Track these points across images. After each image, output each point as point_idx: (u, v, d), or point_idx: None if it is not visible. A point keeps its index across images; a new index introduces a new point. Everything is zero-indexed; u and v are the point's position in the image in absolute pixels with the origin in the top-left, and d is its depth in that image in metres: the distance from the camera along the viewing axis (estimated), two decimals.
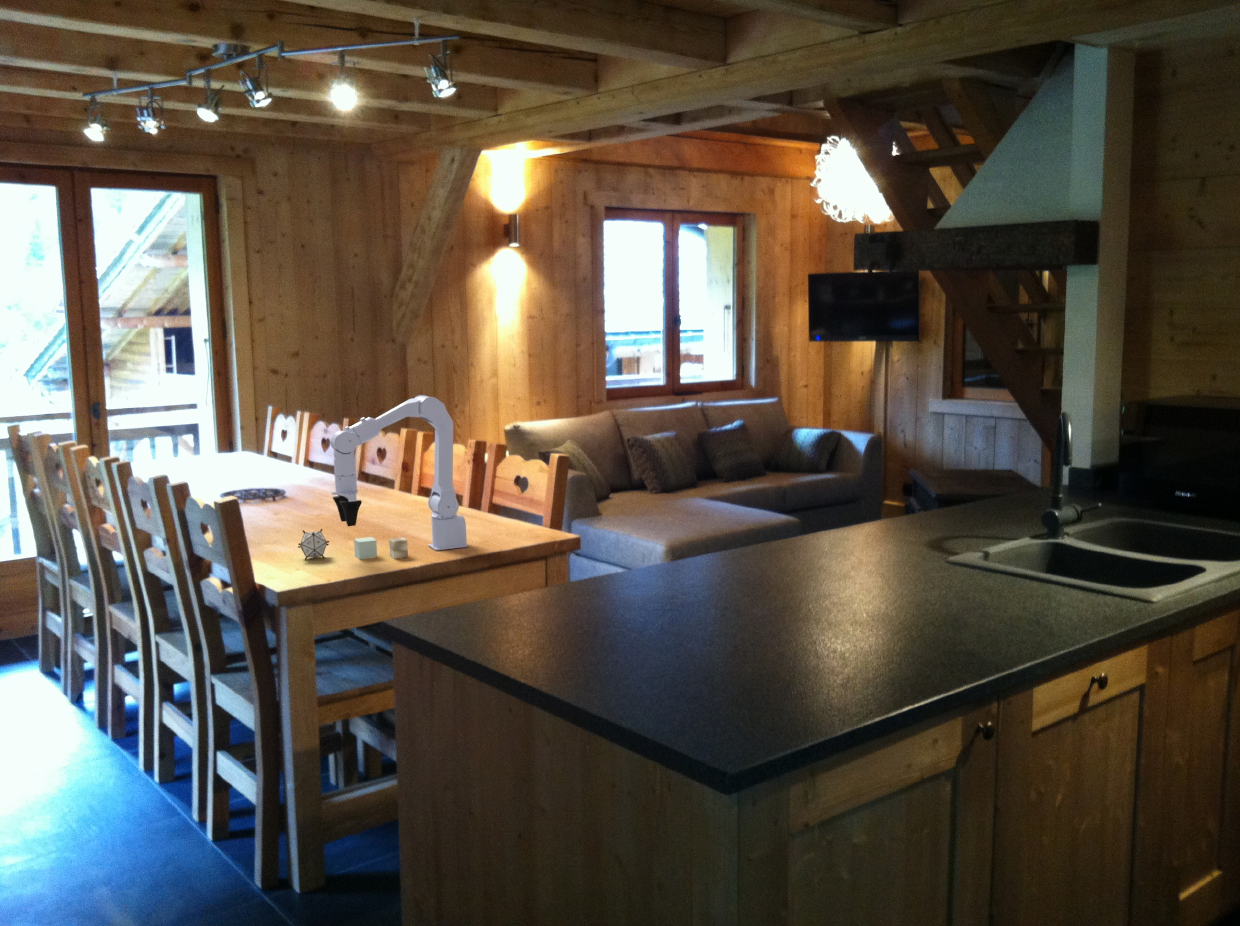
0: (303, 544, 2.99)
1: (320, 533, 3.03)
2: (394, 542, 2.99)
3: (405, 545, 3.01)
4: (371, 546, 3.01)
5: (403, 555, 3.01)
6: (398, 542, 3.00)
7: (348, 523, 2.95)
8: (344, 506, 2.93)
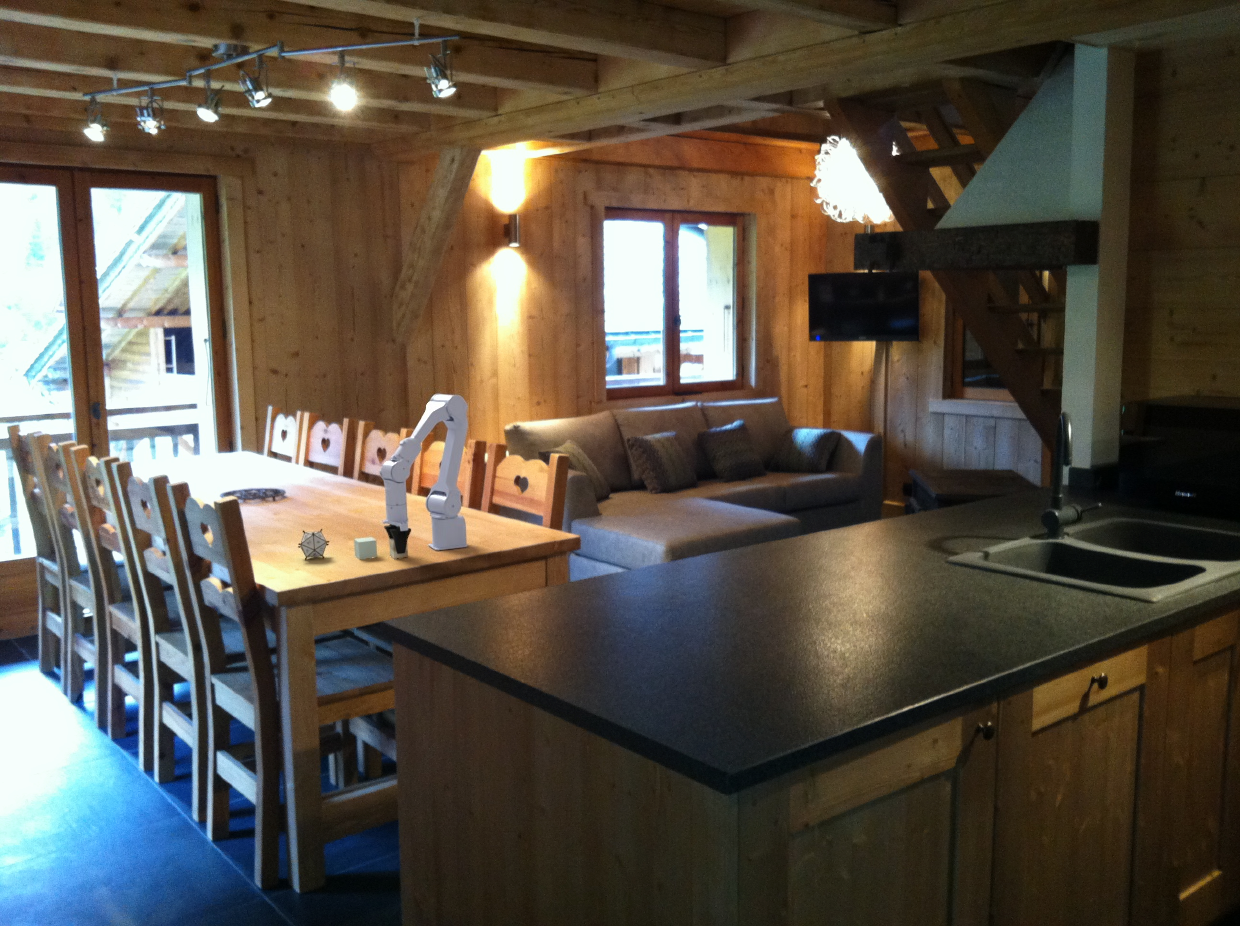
0: (303, 544, 2.99)
1: (320, 533, 3.03)
2: (394, 542, 2.99)
3: None
4: (371, 546, 3.01)
5: (403, 555, 3.01)
6: None
7: (398, 551, 2.99)
8: (394, 534, 2.97)
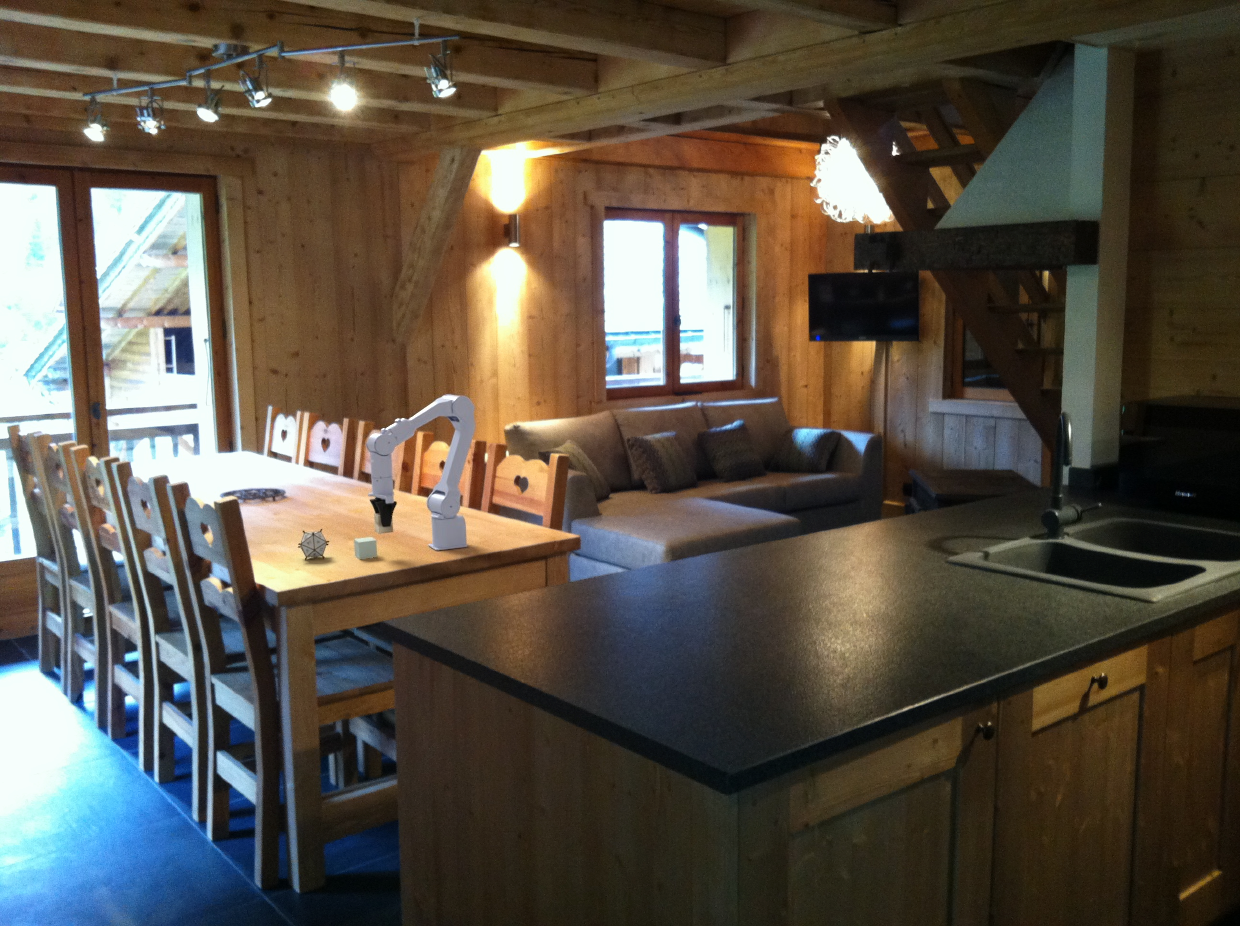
0: (303, 544, 2.99)
1: (320, 533, 3.03)
2: (379, 516, 2.98)
3: None
4: (371, 546, 3.01)
5: (388, 530, 3.00)
6: None
7: (383, 524, 2.98)
8: (380, 507, 2.96)
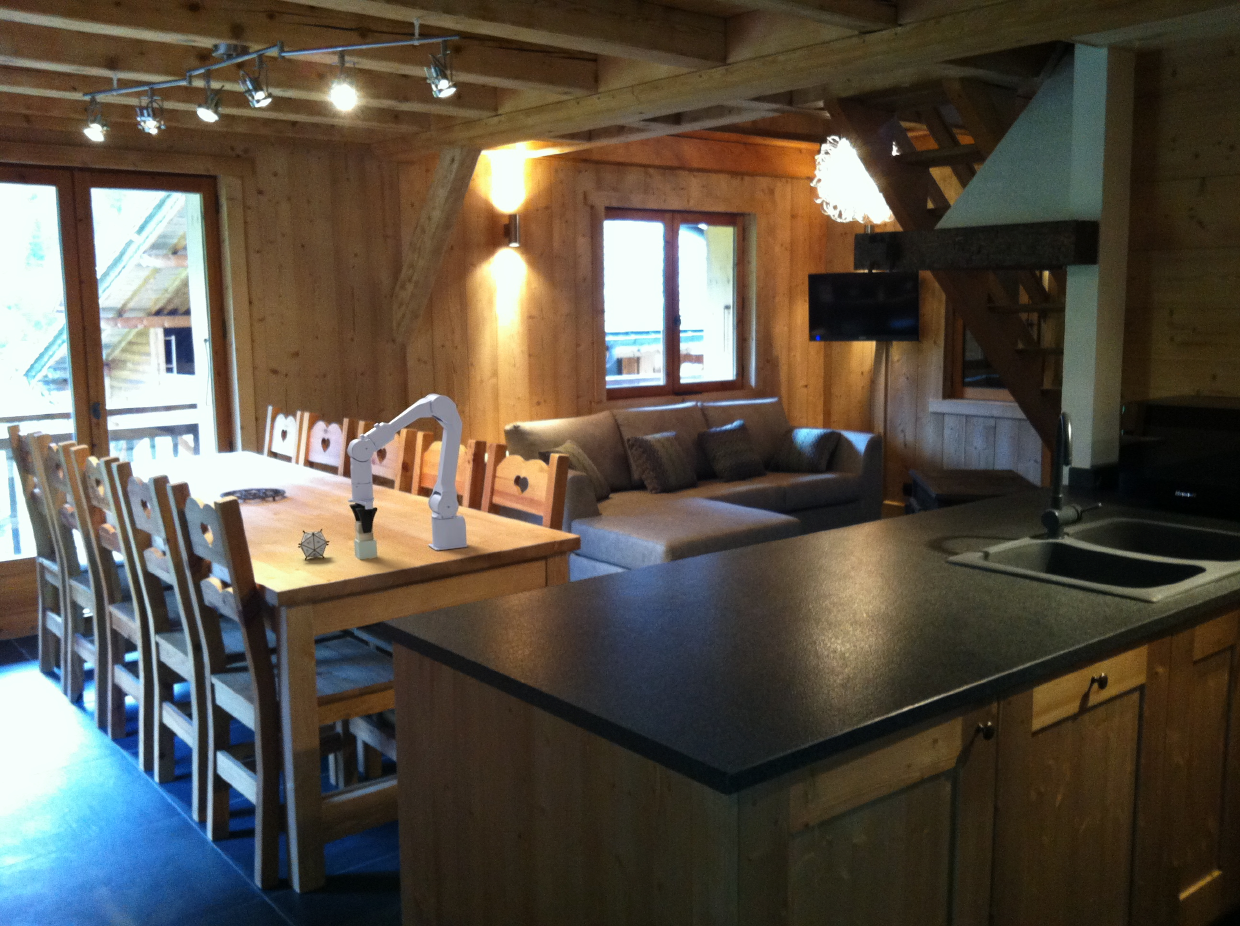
0: (303, 544, 2.99)
1: (320, 533, 3.03)
2: (359, 524, 2.99)
3: None
4: (371, 546, 3.01)
5: (368, 538, 3.01)
6: None
7: (364, 530, 2.99)
8: (360, 513, 2.96)
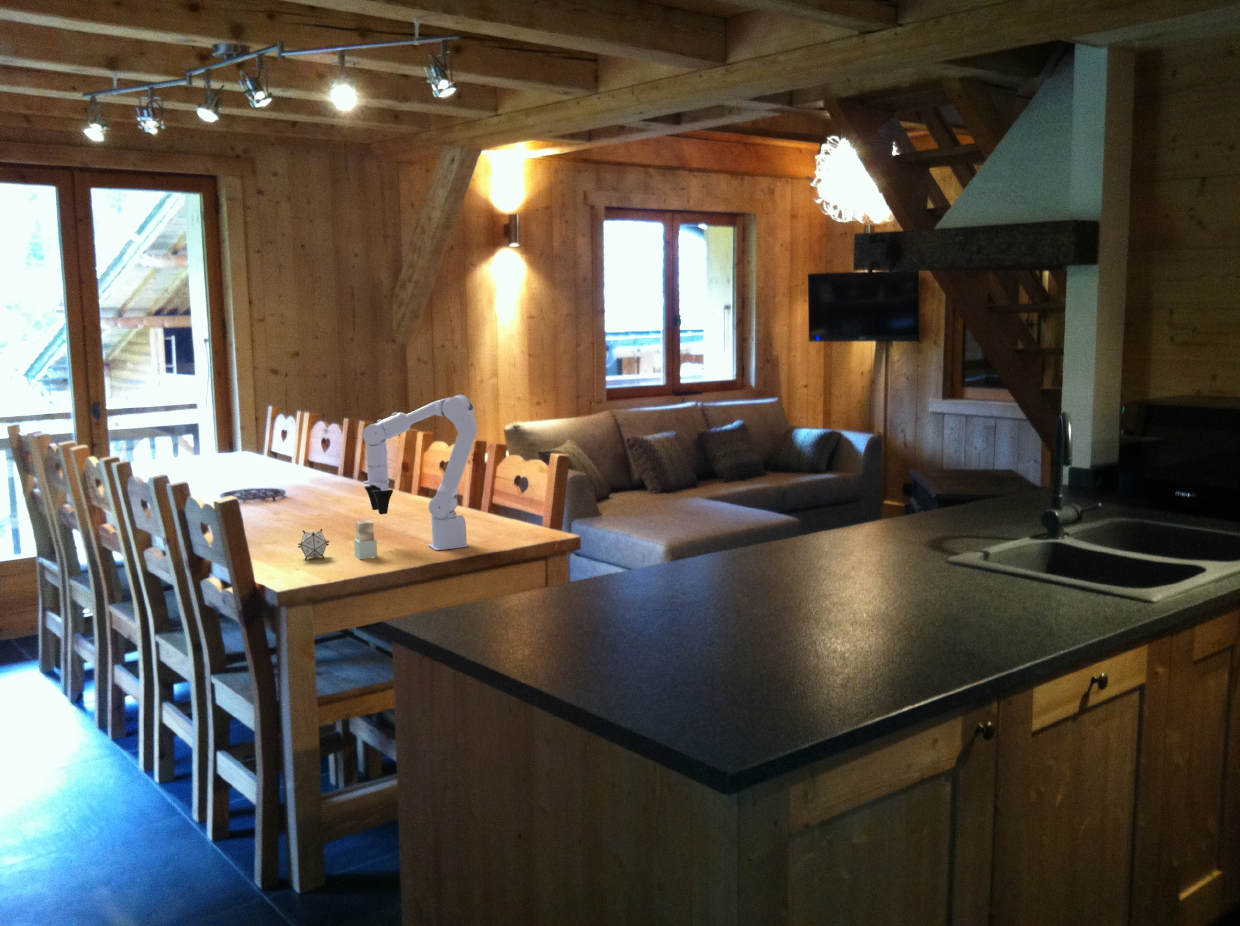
0: (303, 544, 2.99)
1: (320, 533, 3.03)
2: (360, 524, 2.99)
3: (371, 528, 3.01)
4: (371, 546, 3.01)
5: (369, 538, 3.01)
6: (364, 524, 3.00)
7: (380, 511, 3.09)
8: (376, 495, 3.07)
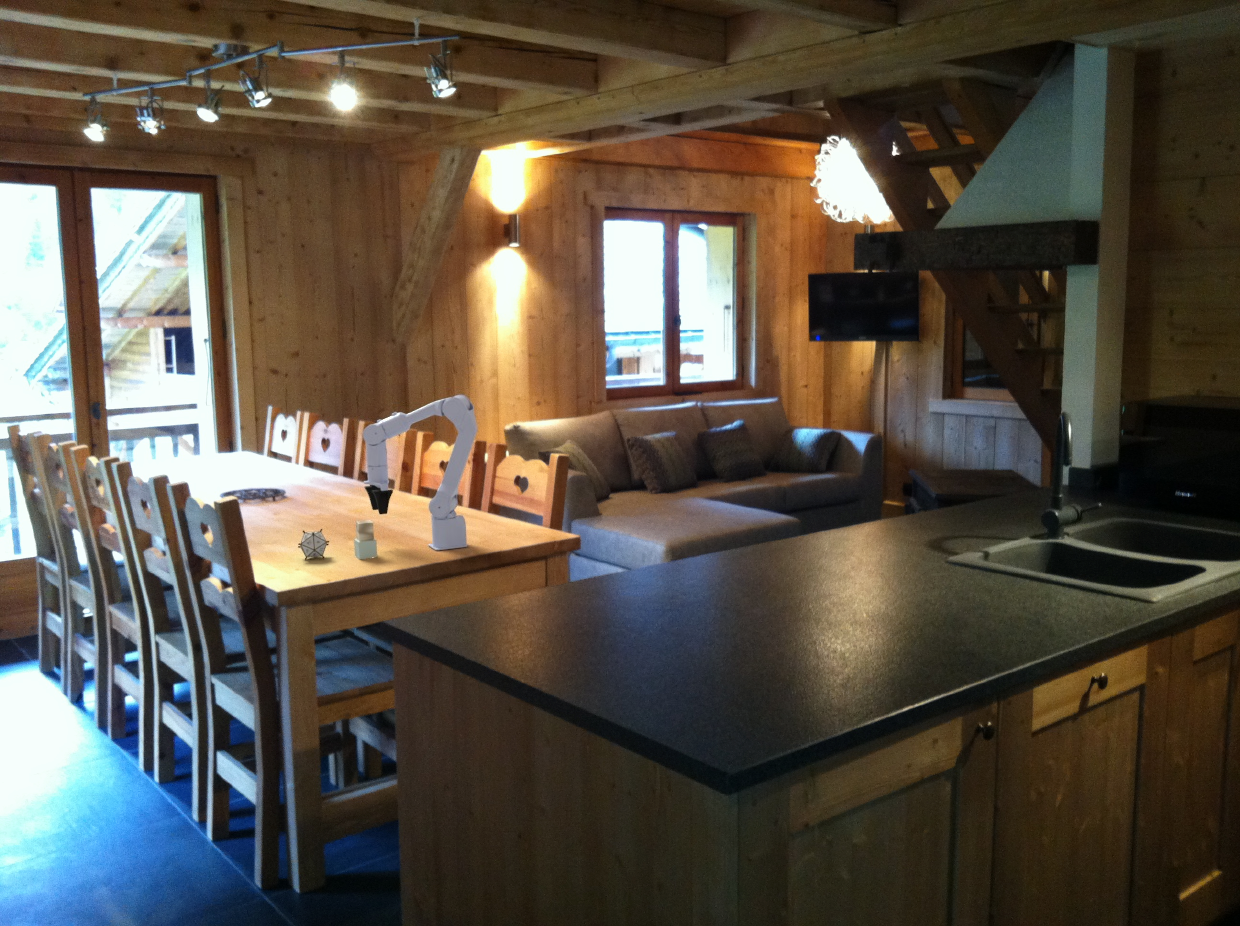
0: (303, 544, 2.99)
1: (320, 533, 3.03)
2: (360, 524, 3.00)
3: (371, 527, 3.01)
4: (371, 546, 3.01)
5: (369, 537, 3.01)
6: (364, 524, 3.00)
7: (380, 511, 3.09)
8: (376, 495, 3.07)
